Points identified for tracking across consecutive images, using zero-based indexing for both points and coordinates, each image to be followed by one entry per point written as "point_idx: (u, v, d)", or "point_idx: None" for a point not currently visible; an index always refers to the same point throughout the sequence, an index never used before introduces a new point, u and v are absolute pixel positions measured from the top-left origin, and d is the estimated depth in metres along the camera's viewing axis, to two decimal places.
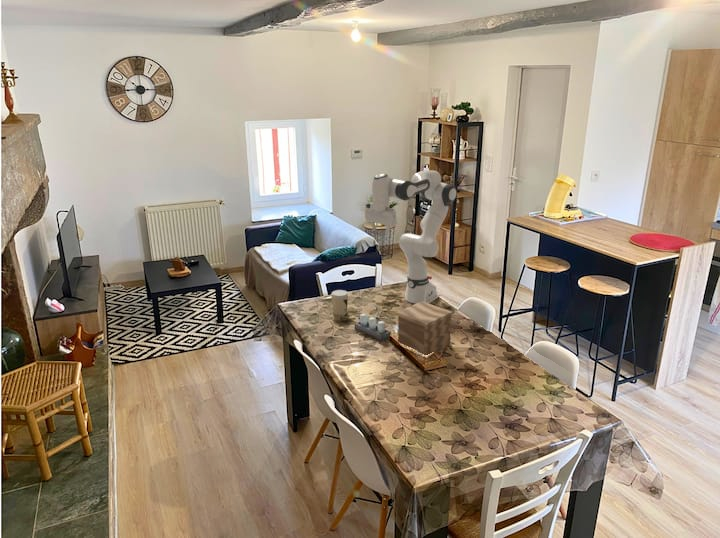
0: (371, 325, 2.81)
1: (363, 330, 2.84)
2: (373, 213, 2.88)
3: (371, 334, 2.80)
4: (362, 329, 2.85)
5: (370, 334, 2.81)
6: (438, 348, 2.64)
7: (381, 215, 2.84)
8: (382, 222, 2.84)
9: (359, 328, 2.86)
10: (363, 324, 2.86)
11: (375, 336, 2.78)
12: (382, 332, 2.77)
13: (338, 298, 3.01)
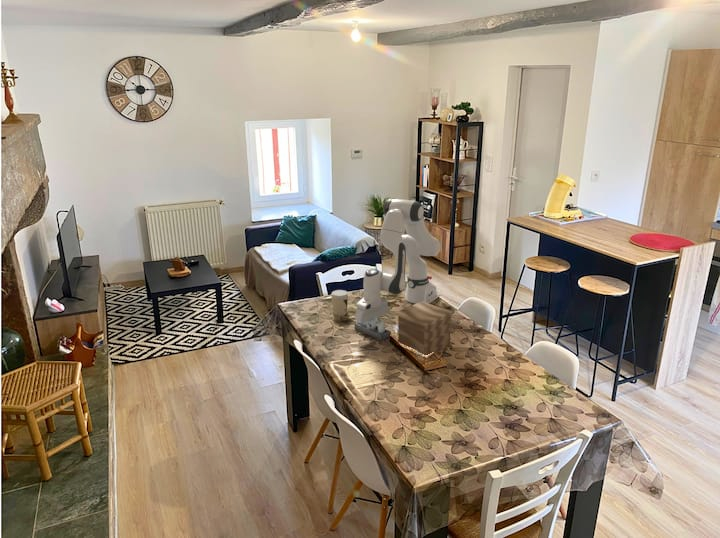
0: (371, 325, 2.81)
1: (363, 330, 2.84)
2: (369, 312, 2.77)
3: (371, 334, 2.80)
4: (362, 329, 2.85)
5: (370, 334, 2.81)
6: (438, 348, 2.64)
7: (377, 308, 2.80)
8: (379, 314, 2.82)
9: (359, 328, 2.86)
10: (363, 324, 2.86)
11: (375, 336, 2.78)
12: (382, 332, 2.77)
13: (338, 298, 3.01)
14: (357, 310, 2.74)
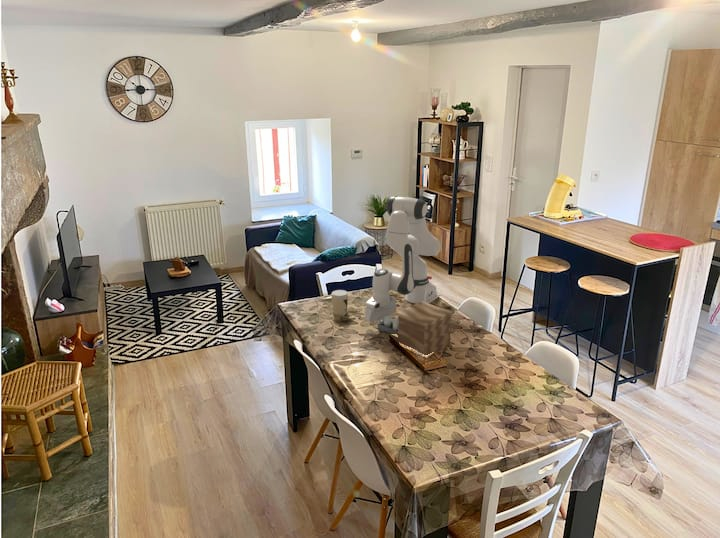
0: (395, 326, 2.80)
1: (387, 331, 2.83)
2: (377, 311, 2.83)
3: None
4: (386, 330, 2.83)
5: None
6: (438, 348, 2.64)
7: (385, 307, 2.87)
8: (387, 313, 2.89)
9: (383, 329, 2.85)
10: (387, 325, 2.85)
11: None
12: None
13: (338, 298, 3.01)
14: (366, 309, 2.81)
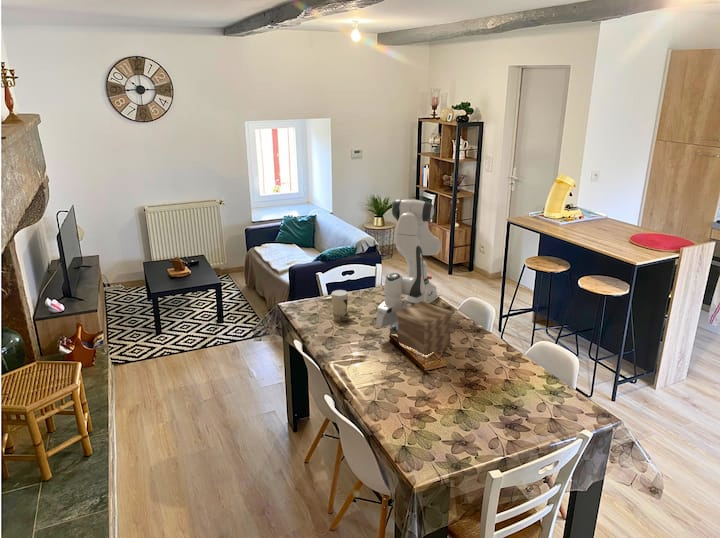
0: None
1: None
2: (389, 315, 2.77)
3: None
4: None
5: None
6: (438, 348, 2.64)
7: None
8: None
9: None
10: None
11: None
12: None
13: (338, 298, 3.01)
14: (378, 314, 2.75)
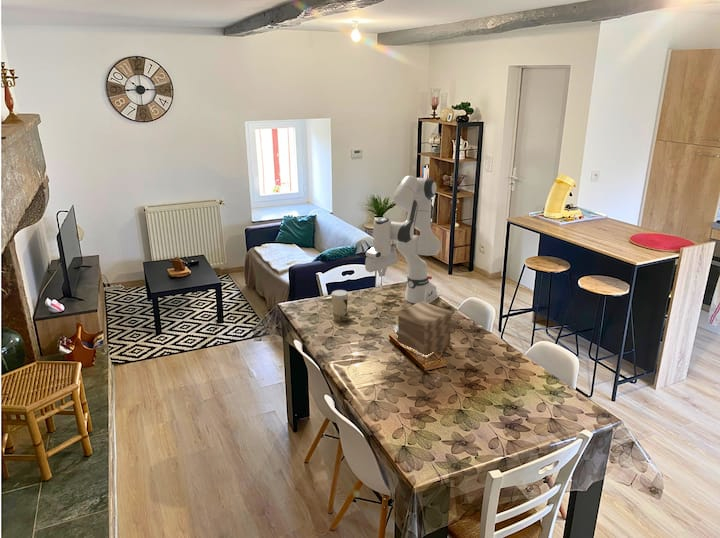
0: None
1: None
2: (378, 260, 2.74)
3: None
4: None
5: None
6: (438, 348, 2.64)
7: (386, 258, 2.78)
8: (388, 264, 2.79)
9: None
10: None
11: None
12: None
13: (338, 298, 3.01)
14: (367, 259, 2.72)
